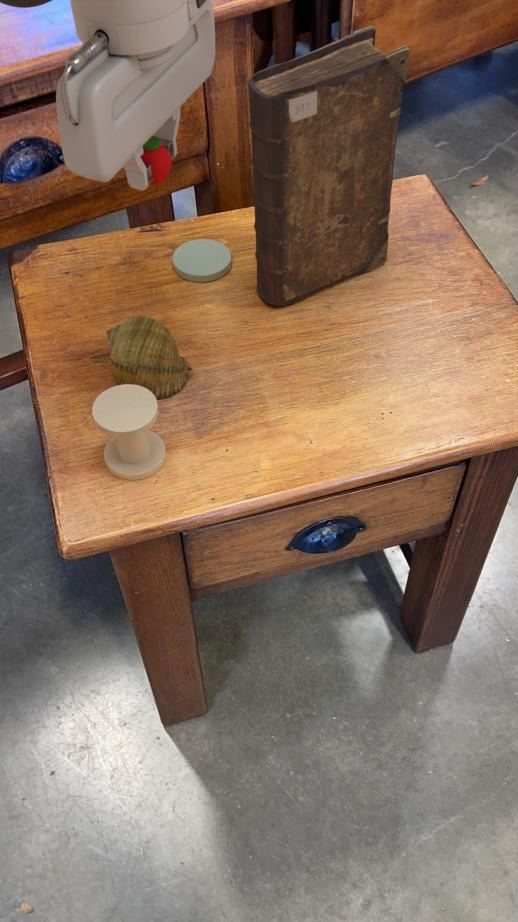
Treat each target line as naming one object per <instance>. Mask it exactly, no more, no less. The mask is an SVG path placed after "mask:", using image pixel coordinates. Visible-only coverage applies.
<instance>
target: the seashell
mask: <svg viewBox="0 0 518 922" xmlns="http://www.w3.org/2000/svg"><path fill="white" fill-rule="evenodd" d="M106 336H107V341H108V351H109V353H110V362H111V368H112V369H111V370H112V372H113V374H114V376H115V380H116V381H117V383H118V385H123V384H134V385H139V386H142V387H144V388H146V389H148V390H149V391H151V392H152V393H153V394H154V396H155V397H156V399H157V400H163V399H165V398H169V397H172V396H173V395H176V394H178V393H179V392H180V393H181V391H182V388H183V387H184V384H185V382H186V380H187V372H188V371H193V367H192V365H191V364H190V362H189V361H188V359H186V358H185V357H183V356H181V355H180V353H179V349H178V346H177V343H176V341H175V339H174V336H173V335H172V333H171V331H170V330H169V329H168V328H167V327H166V326H165V324H163V323H162V322H160V321H159V320H157V319H156V318H154V317H151V316H147V315H141V314H139V315H133V316H130V317H128V318H126V319H124V320H123V321H122V323H121V324H118V325H115V326H113V328H110V329H109V330H107V331H106Z"/></svg>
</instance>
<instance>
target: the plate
mask: <svg viewBox="0 0 518 922" xmlns="http://www.w3.org/2000/svg"><path fill="white" fill-rule="evenodd" d="M171 258H172V266H173V267H172V268H173V269H174V272H175V273H176V274H177V275H178V276H179V277H181V278H182V279H184V280H187V281H189V282H195V283H208V282H213V281H215V280H218V279H220V278H223V277H224V276H225V275H226V274H227V273H228V272H229V271H230V269H231V267H232V263H233V261H232V253H231V250H230V249H229V248H228V246H226V245H225V244H224V243H222V242H221V241H217V240H215V239H209V238H198V239H197V238H196V239H192V240H189V241H186V242H184V243H182V244H180V245H179V246H178V247H177V248H176V249H175V250H174V252H173V254H172V257H171Z"/></svg>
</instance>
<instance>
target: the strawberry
mask: <svg viewBox="0 0 518 922" xmlns="http://www.w3.org/2000/svg"><path fill="white" fill-rule="evenodd" d="M140 158H141V159H142V161H143V163H147V164H151V166H152V176H153V181H152V182H151V183H150V184H149V186H158V185H160V184H163V183H164V182H165V181H166V179H167V178H166V177H167V176H168V175H169V174H170V171H171V168H172V160H171V156H170V154H169V152H168V150H167V149H166V147H165V146H164V145H162V144H161V143H160V140H159V138H158V137H156V136H155V135H153V136H152V137H151V138H150V139H149V140H148V141H147V142H146V143H145V144H144V145H143V154H142V156H140Z"/></svg>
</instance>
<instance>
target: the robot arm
mask: <svg viewBox="0 0 518 922" xmlns="http://www.w3.org/2000/svg"><path fill="white" fill-rule="evenodd" d="M52 1H53V0H0V4H3V5H6V6H9V7H13V8H21V9H24V8H25V9H27V8H29V9H30V8H35V7H39V6H43V5H45V4H48V3H50V2H52ZM69 2H70V7H71V8H70V9H71V13H72V17H73V23H74V28H75V33H76V36H77V39H78V40H79V41H80V42H81V43H82V45H81V46H80V47H79V48H78V49H77V50H74V51H72V52H71V53H70V54H69V55H68V56H67V57H66V59H65V61H64V66H65V68H64V69H63V73H62V74H61V76H60V78H59V79H58V83H57V86H56V91H55V92H56V93H55V106H56V117H57V126H58V132H59V140H60V146H61V152H62V156H63V162H64V165H65V167H66V168H67V169H68V170H69V171H70V172H71V173H72V174H74V175H75V176H76V177H81V178H83V179H87V180H90V181H91V180H92V181H96V182H99V183H108V182H110V181H111V180H112V179H113V178H114V177H115V176H116V174H118V172H120V171H121V169H122V168H123V169H124V170H125V174H126V180H127V184H128V185H129V187H130V188H132V189H135V190H138V191H142V192H143V191H145V190H147V188H148V187H149V186H150V185H149V184H150V183H151V182H152V181H153V176H152V166H151V164H147V163H143V161H142V159H141V158H140V156H142V154H143V145H144V144H145V143H146V142H147V141H148V140H149V139H150V138H151V137H152V136H156V137H158V138H159V140H160V143H161V144H162V145H164V146H165V147H166V149H167V150H168V152H169V154H170V156H171V161H173V159H174V158H175V157H176V156H177V154H178V148H177V137H178V131H179V125H180V120H181V115H182V113H181V107H182V106H183V105H184V103H186V101H187V100H188V99H189V98H190V97H191V96H193V94H194V93H195V92H196V91H197V90H198V89H199V87H201V86H202V84H204V82H205V81H206V80H208V78H209V77H210V76H212V72H213V69H214V65H215V59H216V26H215V25H216V24H215V11H214V10H215V9H214V5H213V1H212V0H69Z"/></svg>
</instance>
